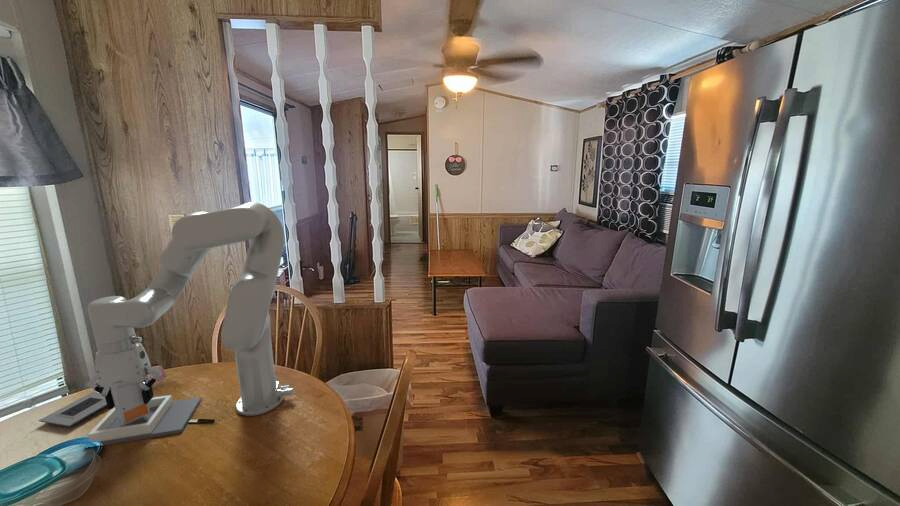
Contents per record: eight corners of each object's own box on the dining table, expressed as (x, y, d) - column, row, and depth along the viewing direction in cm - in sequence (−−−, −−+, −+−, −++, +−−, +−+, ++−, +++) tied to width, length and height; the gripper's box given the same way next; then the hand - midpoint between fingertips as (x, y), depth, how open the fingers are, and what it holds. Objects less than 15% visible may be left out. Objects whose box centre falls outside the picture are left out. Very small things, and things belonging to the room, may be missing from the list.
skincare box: (123, 426, 94) (113, 386, 91) (117, 420, 97) (107, 381, 94) (151, 413, 99) (142, 375, 96) (145, 407, 102) (136, 370, 99)
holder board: (201, 400, 109) (199, 390, 108) (182, 432, 96) (179, 420, 95) (117, 412, 103) (114, 402, 102) (84, 448, 90) (81, 436, 89)
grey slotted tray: (70, 432, 96) (68, 424, 95) (40, 426, 98) (38, 419, 97) (123, 401, 109) (121, 394, 108) (95, 397, 110) (93, 390, 110)
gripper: (163, 333, 99) (175, 389, 103) (85, 341, 94) (101, 400, 98) (149, 346, 92) (162, 406, 96) (64, 355, 87) (82, 418, 91)
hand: (131, 403), depth 97 cm, fingers closed on skincare box, 7 cm apart
